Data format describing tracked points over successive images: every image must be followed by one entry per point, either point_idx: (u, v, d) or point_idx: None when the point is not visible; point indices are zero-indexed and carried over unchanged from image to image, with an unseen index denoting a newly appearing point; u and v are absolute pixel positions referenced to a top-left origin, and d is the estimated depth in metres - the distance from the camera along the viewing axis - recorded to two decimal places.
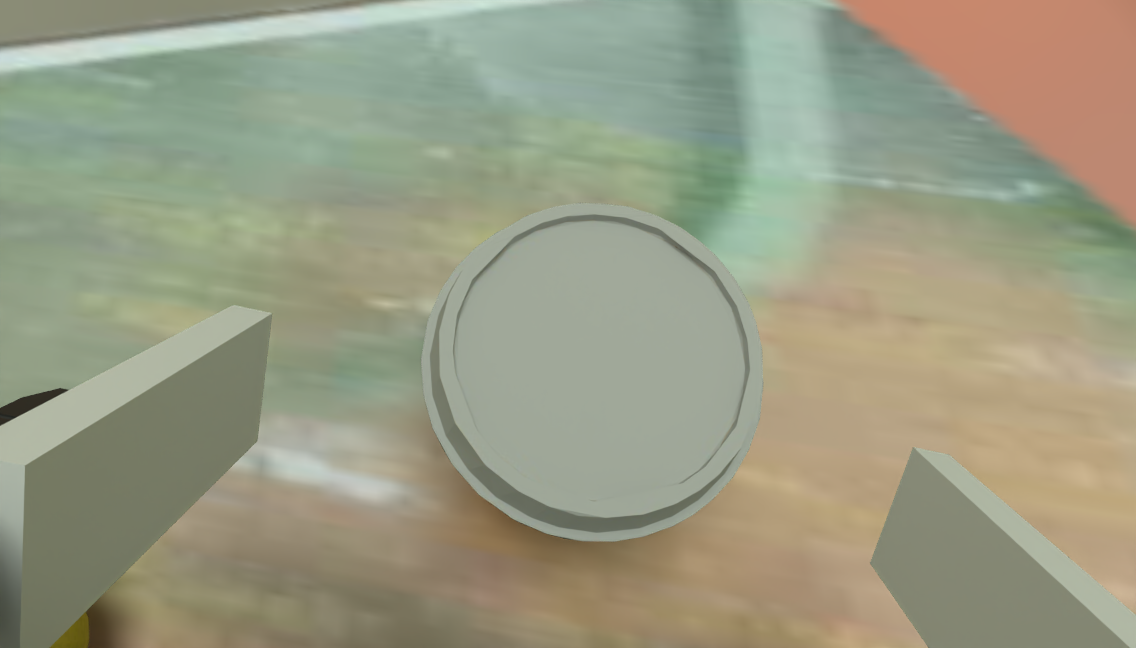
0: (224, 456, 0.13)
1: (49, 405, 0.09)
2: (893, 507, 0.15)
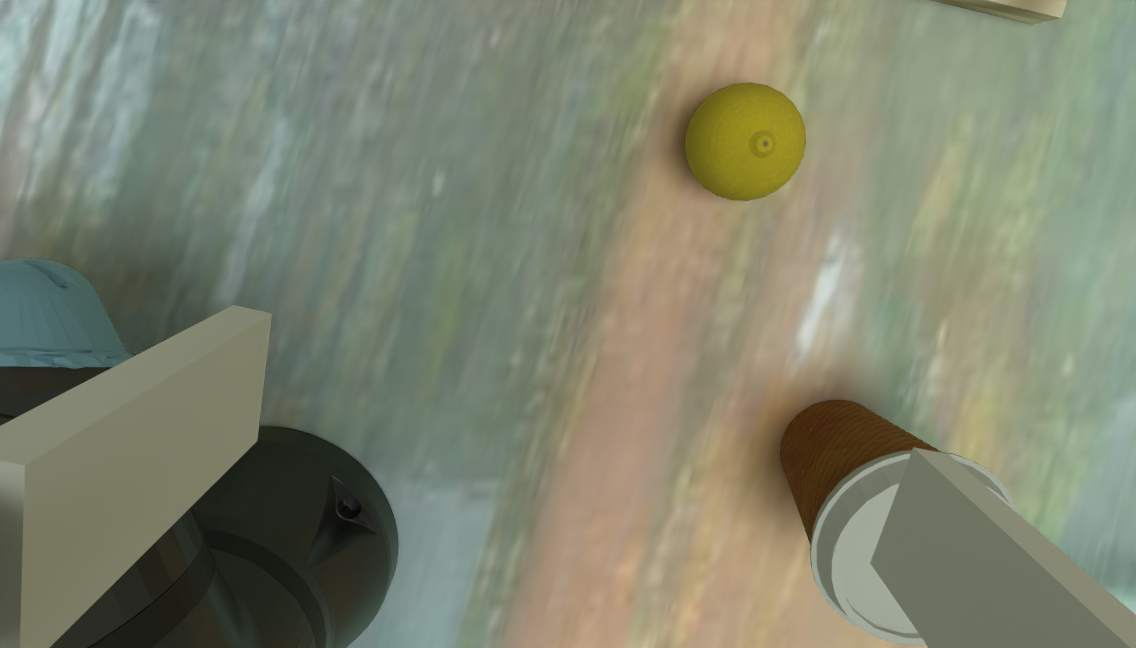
0: (224, 456, 0.13)
1: (49, 405, 0.09)
2: (893, 507, 0.15)
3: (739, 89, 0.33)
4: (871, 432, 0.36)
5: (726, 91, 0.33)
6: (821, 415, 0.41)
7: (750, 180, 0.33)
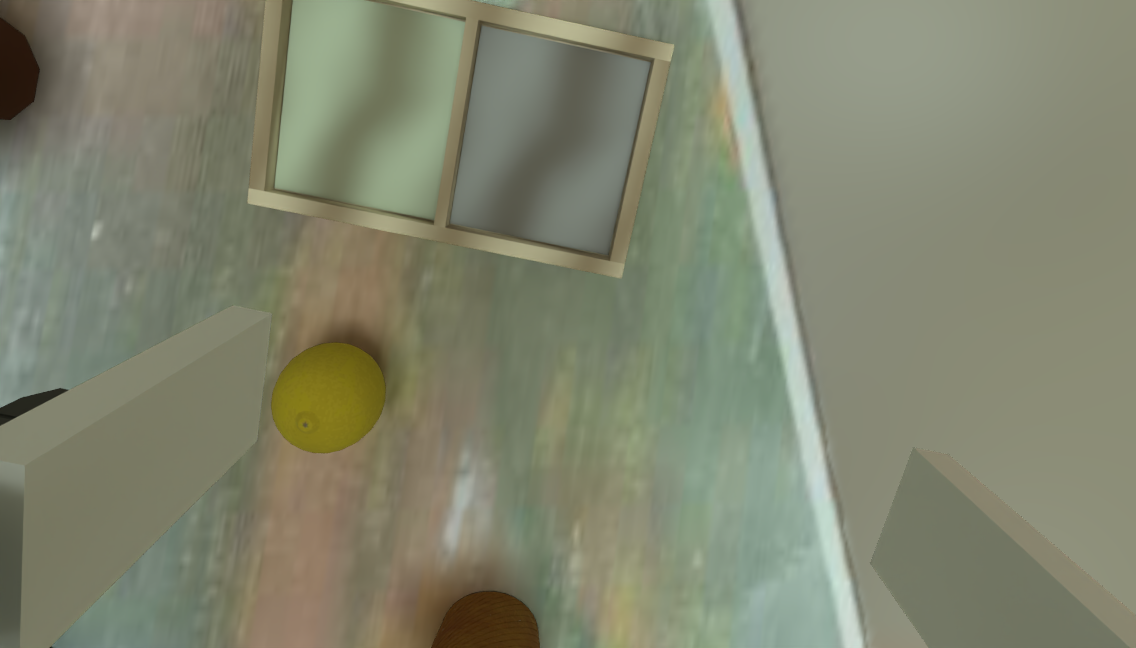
0: (224, 456, 0.13)
1: (50, 405, 0.09)
2: (892, 508, 0.15)
3: (301, 363, 0.36)
4: None
5: (295, 362, 0.37)
6: (459, 613, 0.45)
7: (309, 447, 0.36)
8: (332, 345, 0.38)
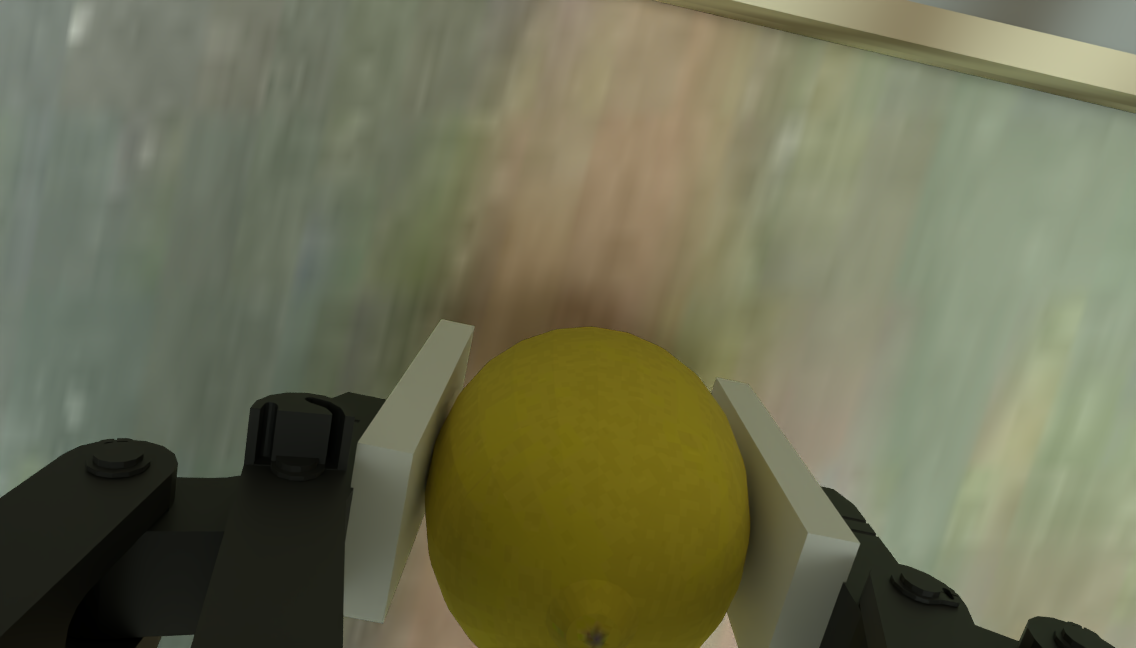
0: None
1: (389, 406, 0.11)
2: None
3: (540, 395, 0.11)
4: None
5: (510, 387, 0.11)
6: None
7: None
8: (602, 334, 0.12)
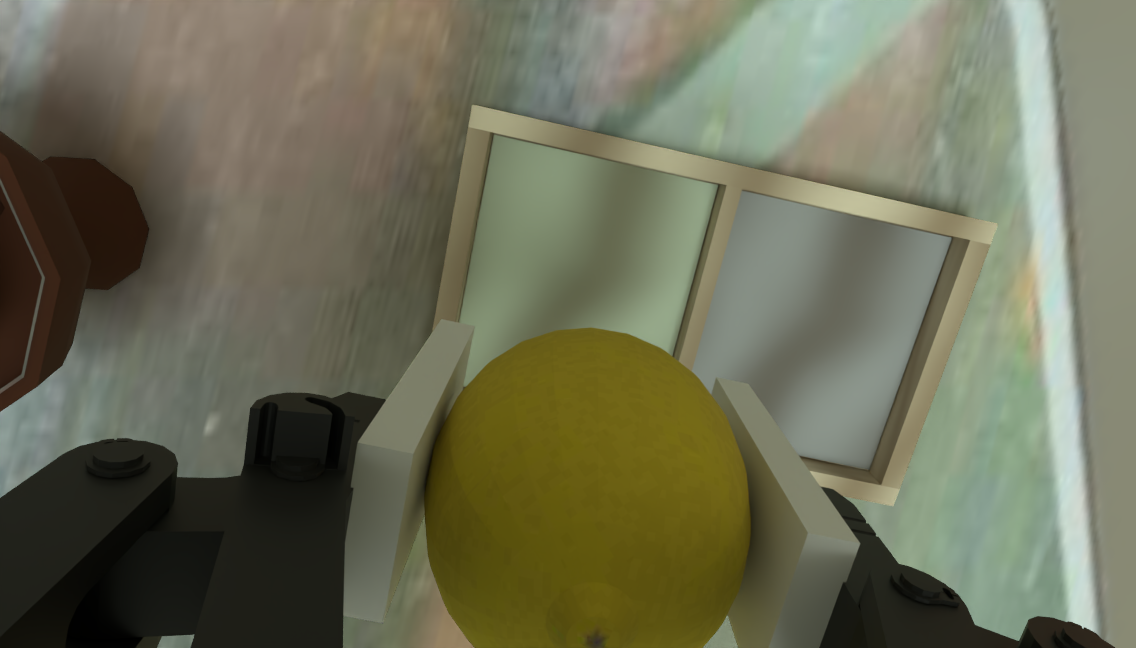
0: None
1: (389, 406, 0.11)
2: None
3: (539, 397, 0.11)
4: None
5: (510, 389, 0.11)
6: None
7: None
8: (602, 336, 0.12)
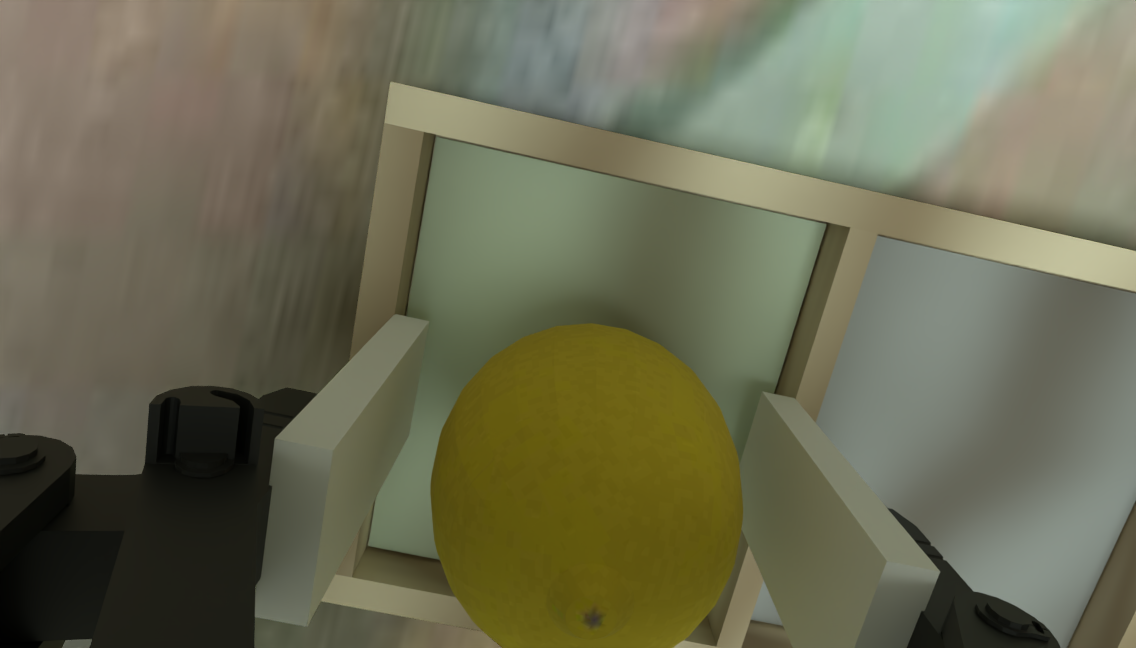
0: (396, 448, 0.15)
1: (317, 401, 0.11)
2: (747, 448, 0.16)
3: (540, 389, 0.11)
4: None
5: (512, 381, 0.12)
6: None
7: None
8: (601, 331, 0.13)
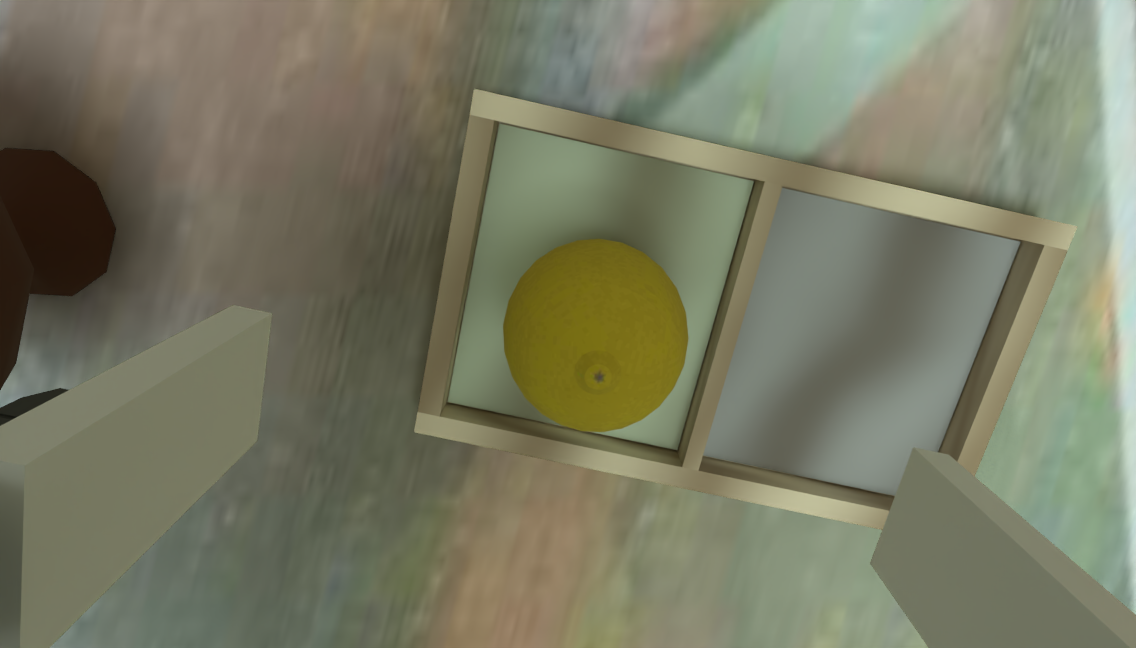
0: (224, 456, 0.13)
1: (49, 405, 0.09)
2: (893, 507, 0.15)
3: (570, 266, 0.20)
4: None
5: (554, 264, 0.20)
6: None
7: (585, 421, 0.20)
8: (605, 240, 0.21)
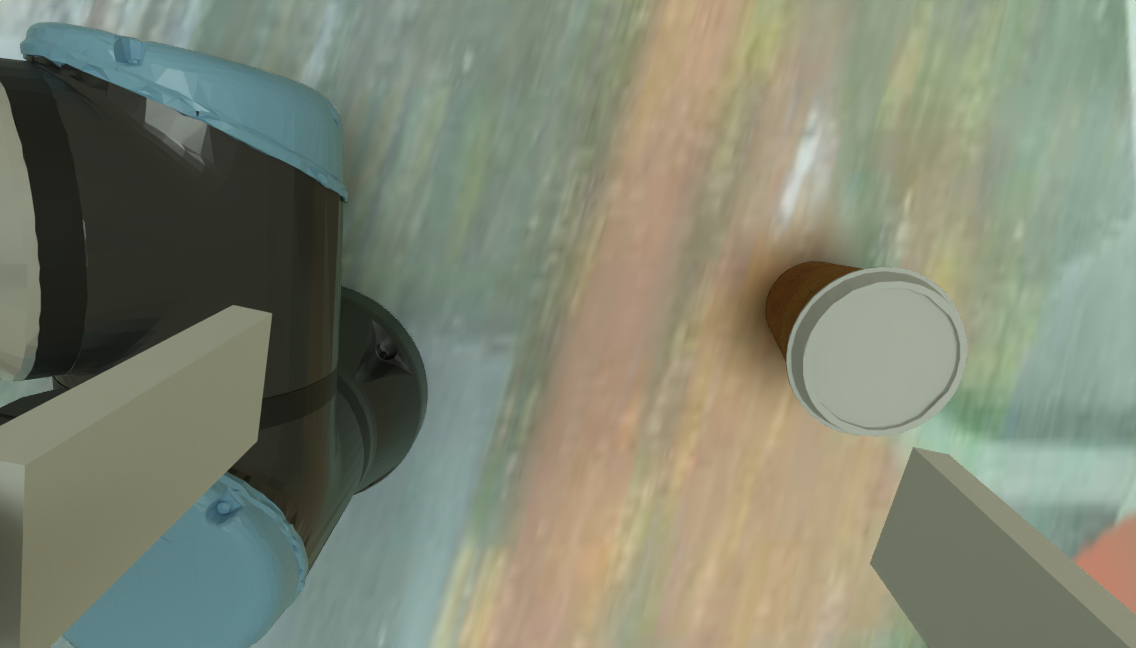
0: (224, 456, 0.13)
1: (49, 405, 0.09)
2: (893, 507, 0.15)
3: None
4: (841, 268, 0.42)
5: None
6: (800, 270, 0.47)
7: None
8: None
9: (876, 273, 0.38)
